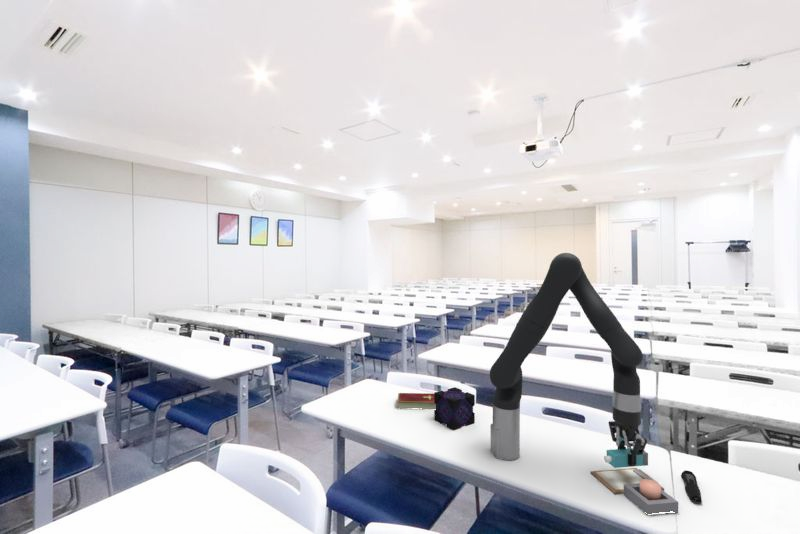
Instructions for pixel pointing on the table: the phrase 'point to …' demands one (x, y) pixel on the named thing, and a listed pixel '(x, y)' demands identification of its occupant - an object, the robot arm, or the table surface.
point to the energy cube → (454, 408)
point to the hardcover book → (416, 400)
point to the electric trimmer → (691, 486)
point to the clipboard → (620, 478)
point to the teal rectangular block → (624, 458)
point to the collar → (653, 505)
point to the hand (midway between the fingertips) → (626, 461)
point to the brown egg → (650, 489)
